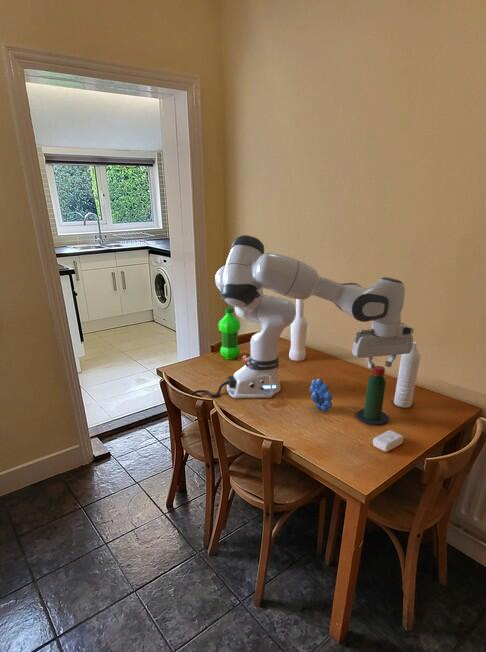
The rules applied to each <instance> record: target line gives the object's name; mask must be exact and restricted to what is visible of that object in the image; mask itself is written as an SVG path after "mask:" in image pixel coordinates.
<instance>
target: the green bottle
mask: <svg viewBox="0 0 486 652" xmlns="http://www.w3.org/2000/svg"><path fill="white" fill-rule="evenodd" d="M384 376H385V375H384ZM384 376H374V375H373V374H371V375H370V377H368V379H367V383H366V385H367V386H366V393H365V401H364V407H363V409H364V414H363V416H364V417H365V418H366V419H368V420H379V419H380V418H381V412H383V404H384V398H385V392H386V385H387V380H386V378H385V377H384Z"/></svg>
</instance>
